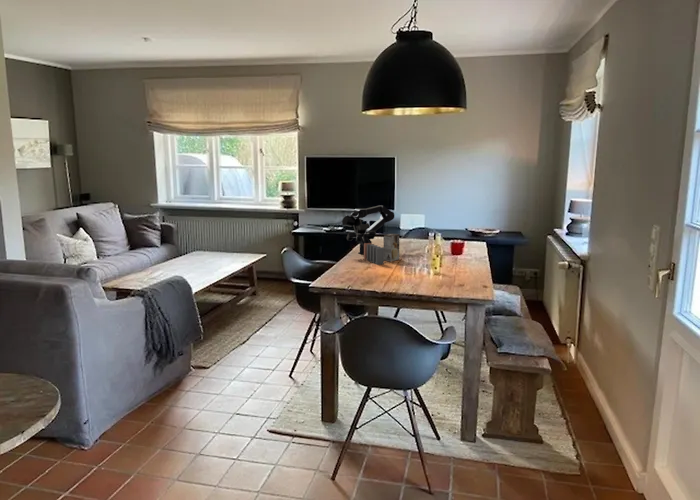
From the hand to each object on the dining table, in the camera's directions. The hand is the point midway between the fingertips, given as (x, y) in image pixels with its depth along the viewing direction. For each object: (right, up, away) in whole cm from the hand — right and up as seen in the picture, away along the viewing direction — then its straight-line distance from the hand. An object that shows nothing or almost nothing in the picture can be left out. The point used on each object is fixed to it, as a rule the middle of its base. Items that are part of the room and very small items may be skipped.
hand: (364, 246), depth 345 cm
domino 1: (+3, -9, -7) cm, 12 cm away
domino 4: (+8, -11, -19) cm, 24 cm away
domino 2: (+5, -10, -11) cm, 15 cm away
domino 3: (+7, -10, -15) cm, 19 cm away
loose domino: (+2, -8, -3) cm, 9 cm away
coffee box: (+16, -9, -6) cm, 20 cm away
